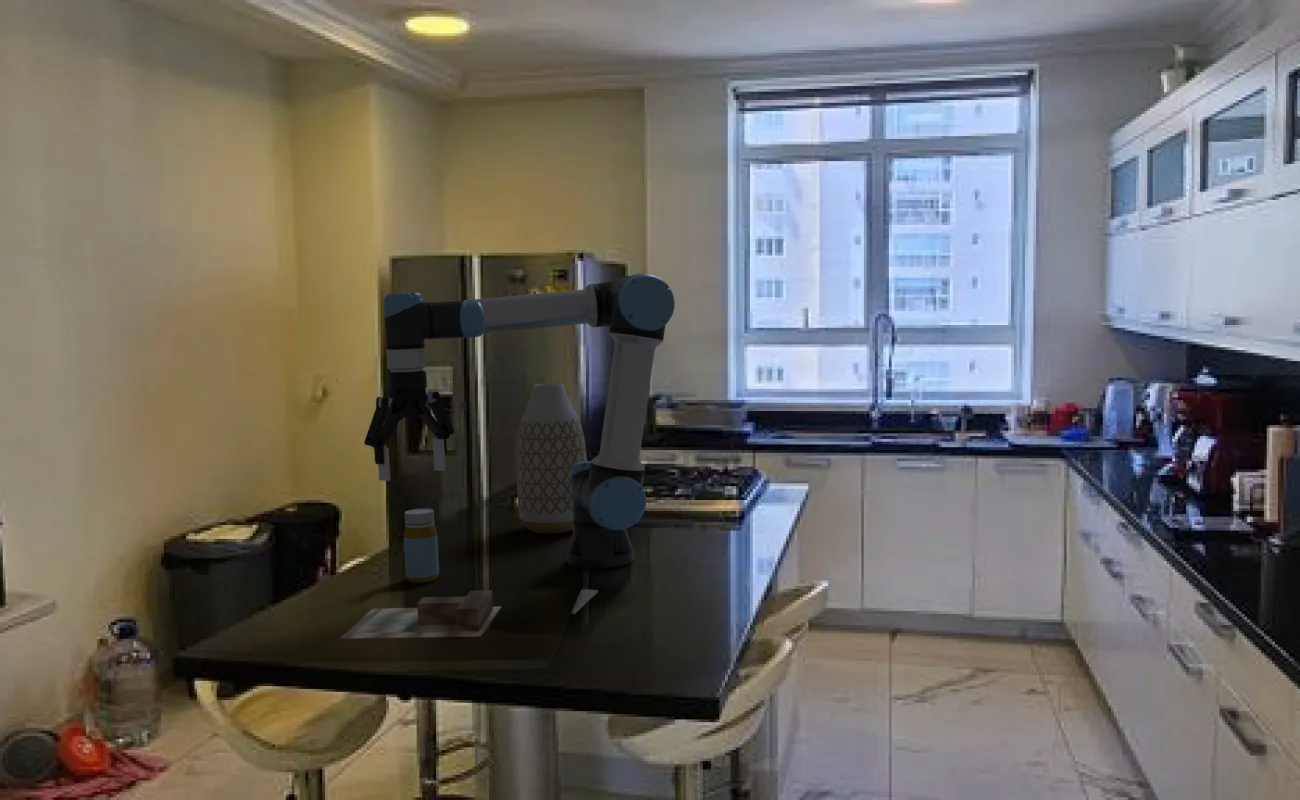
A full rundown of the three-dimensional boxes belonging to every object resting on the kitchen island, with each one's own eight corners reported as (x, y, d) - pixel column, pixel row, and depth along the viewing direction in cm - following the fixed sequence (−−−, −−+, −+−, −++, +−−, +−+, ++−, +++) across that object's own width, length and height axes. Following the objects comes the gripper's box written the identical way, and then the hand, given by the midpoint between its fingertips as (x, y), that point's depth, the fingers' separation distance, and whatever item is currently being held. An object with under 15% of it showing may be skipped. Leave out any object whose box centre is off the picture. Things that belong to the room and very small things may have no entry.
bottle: (431, 584, 222) (427, 514, 221) (400, 583, 223) (396, 514, 222) (444, 575, 229) (440, 508, 227) (414, 575, 230) (410, 508, 229)
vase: (529, 522, 284) (522, 382, 281) (596, 521, 281) (590, 381, 278) (510, 537, 266) (503, 388, 262) (582, 537, 263) (576, 386, 260)
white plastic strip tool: (549, 615, 198) (548, 609, 198) (574, 593, 213) (574, 588, 213) (574, 615, 197) (574, 610, 197) (598, 594, 211) (598, 589, 211)
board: (501, 612, 199) (501, 606, 199) (481, 642, 181) (481, 636, 181) (372, 614, 201) (372, 608, 201) (340, 645, 183) (339, 638, 183)
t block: (493, 611, 196) (491, 590, 196) (479, 630, 184) (478, 608, 184) (430, 612, 197) (428, 591, 197) (412, 632, 185) (410, 609, 185)
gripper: (444, 365, 221) (450, 465, 223) (341, 374, 202) (348, 483, 204) (467, 366, 216) (473, 467, 218) (364, 375, 197) (371, 486, 199)
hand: (413, 475), depth 211 cm, fingers open, 13 cm apart
